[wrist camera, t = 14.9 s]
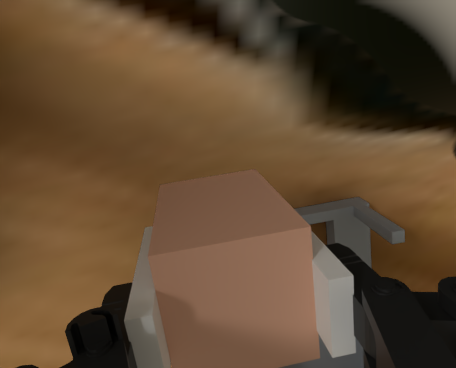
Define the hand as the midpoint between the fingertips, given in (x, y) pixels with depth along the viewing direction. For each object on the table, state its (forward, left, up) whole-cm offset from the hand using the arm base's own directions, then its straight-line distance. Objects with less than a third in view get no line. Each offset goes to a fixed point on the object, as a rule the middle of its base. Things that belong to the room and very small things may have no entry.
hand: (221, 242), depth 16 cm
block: (0, 0, -3) cm, 3 cm away
